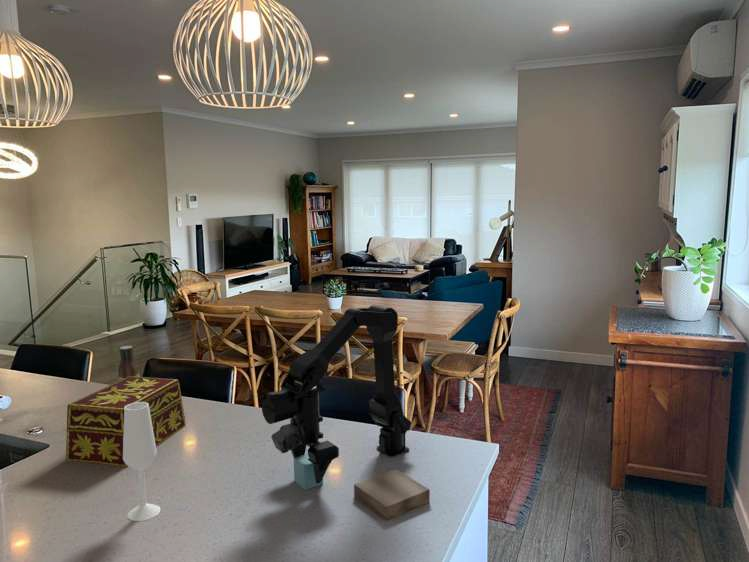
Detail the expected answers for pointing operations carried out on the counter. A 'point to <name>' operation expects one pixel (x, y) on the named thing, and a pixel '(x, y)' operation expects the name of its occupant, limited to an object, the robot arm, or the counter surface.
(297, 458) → the teal block
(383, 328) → the robot arm
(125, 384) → the decorative box
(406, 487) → the walnut base
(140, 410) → the champagne flute
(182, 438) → the counter surface
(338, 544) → the counter surface
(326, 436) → the counter surface
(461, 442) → the counter surface
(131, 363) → the sauce bottle
